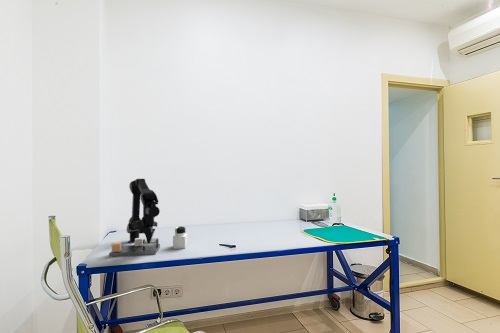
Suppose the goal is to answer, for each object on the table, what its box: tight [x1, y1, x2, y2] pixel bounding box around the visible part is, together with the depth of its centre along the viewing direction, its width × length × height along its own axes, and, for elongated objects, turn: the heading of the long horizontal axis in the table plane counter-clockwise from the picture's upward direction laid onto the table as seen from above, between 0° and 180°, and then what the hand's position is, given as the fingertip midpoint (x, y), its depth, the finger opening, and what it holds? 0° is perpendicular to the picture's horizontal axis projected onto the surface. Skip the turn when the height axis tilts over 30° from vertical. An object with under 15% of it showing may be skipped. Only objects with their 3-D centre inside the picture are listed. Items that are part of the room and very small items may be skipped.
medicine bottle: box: [172, 226, 188, 250], centre depth 163 cm, size 7×7×12 cm
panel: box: [108, 238, 161, 258], centre depth 155 cm, size 14×24×7 cm, turn 99°
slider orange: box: [111, 242, 122, 252], centre depth 149 cm, size 3×4×4 cm
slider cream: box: [134, 237, 144, 246], centre depth 159 cm, size 3×4×4 cm
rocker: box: [143, 237, 159, 246], centre depth 156 cm, size 11×6×1 cm, turn 9°
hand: (148, 242), depth 151 cm, fingers closed, pressing on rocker
